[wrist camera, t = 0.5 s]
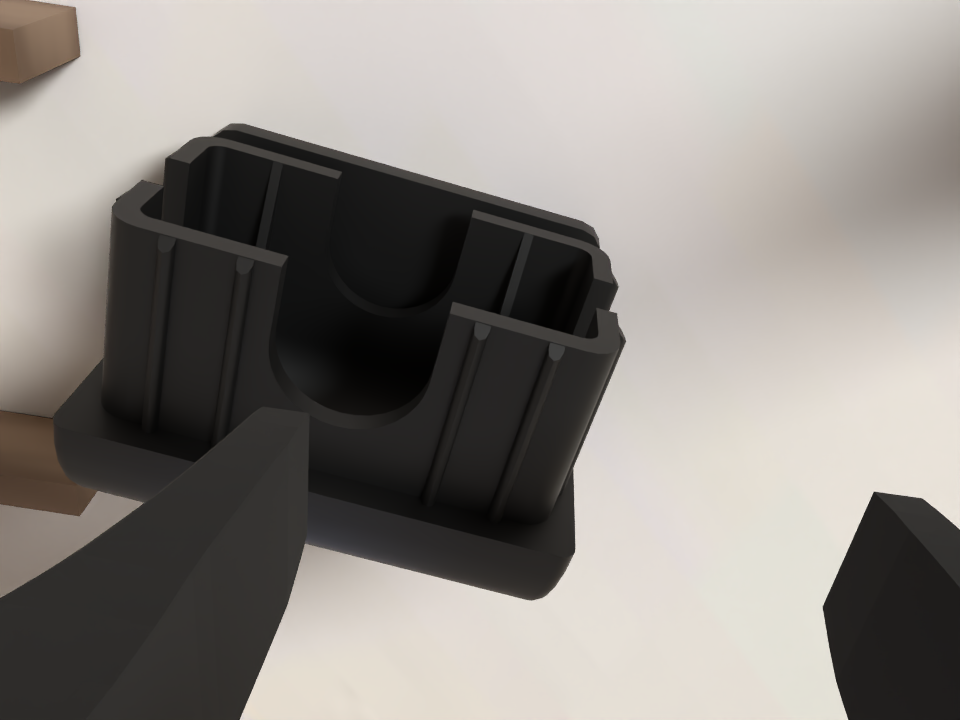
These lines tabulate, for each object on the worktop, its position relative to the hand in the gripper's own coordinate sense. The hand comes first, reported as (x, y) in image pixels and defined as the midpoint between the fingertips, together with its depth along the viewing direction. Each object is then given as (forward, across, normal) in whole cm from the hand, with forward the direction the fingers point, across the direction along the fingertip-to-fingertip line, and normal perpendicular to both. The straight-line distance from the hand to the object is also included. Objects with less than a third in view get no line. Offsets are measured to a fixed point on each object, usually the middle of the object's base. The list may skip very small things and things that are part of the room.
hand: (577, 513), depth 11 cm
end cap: (+11, +4, +3) cm, 12 cm away
